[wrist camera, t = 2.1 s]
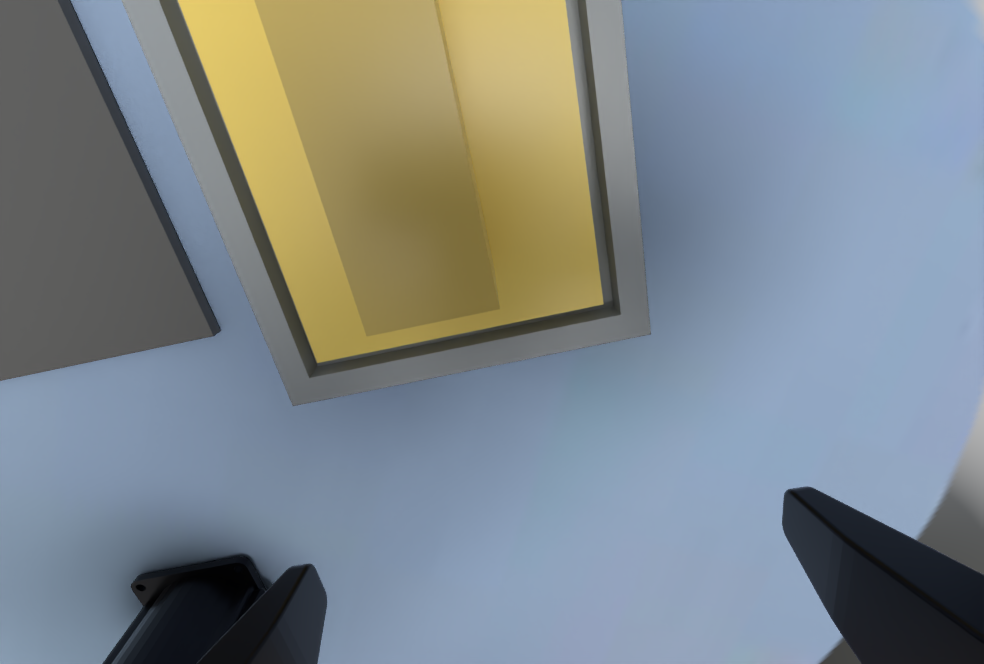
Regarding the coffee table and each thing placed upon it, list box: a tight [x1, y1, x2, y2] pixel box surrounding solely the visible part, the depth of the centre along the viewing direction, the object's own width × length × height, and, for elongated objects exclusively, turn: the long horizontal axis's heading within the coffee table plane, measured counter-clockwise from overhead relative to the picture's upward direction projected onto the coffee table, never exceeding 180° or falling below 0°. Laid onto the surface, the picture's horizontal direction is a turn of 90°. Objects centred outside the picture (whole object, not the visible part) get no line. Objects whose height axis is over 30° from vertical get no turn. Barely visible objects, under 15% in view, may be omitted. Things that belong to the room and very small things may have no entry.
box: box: [122, 0, 651, 406], centre depth 15 cm, size 11×15×7 cm
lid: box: [178, 0, 604, 363], centre depth 10 cm, size 8×12×4 cm
